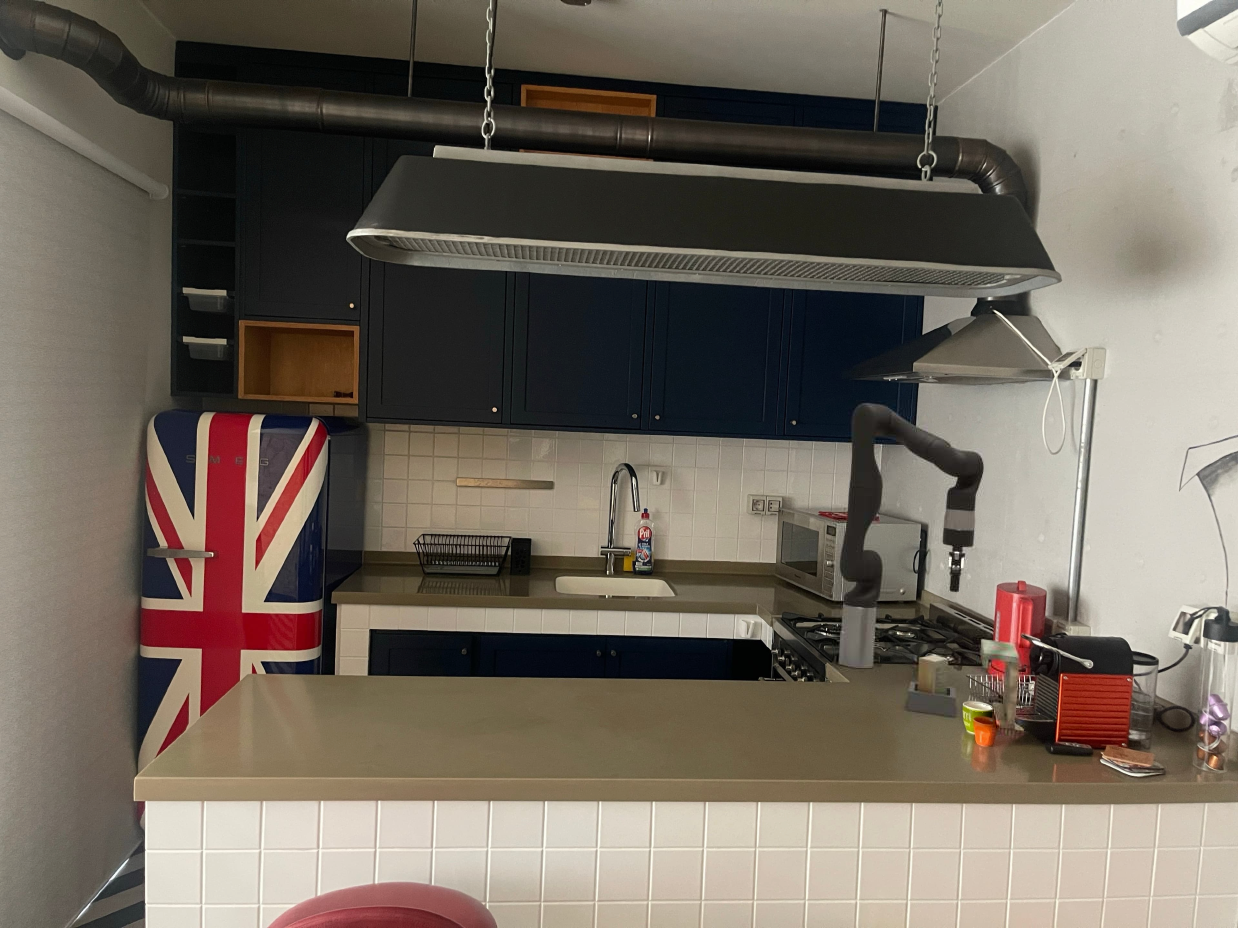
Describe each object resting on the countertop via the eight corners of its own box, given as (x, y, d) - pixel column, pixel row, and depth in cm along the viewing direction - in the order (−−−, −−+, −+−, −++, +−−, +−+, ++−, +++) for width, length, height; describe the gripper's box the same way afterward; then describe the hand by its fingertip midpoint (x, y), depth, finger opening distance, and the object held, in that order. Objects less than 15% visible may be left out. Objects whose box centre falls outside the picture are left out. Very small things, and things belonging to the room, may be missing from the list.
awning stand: (979, 724, 196) (984, 652, 196) (977, 704, 213) (981, 639, 213) (1025, 731, 192) (1030, 658, 192) (1019, 710, 209) (1023, 644, 209)
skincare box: (930, 704, 210) (933, 654, 210) (946, 709, 207) (949, 658, 207) (915, 707, 206) (918, 656, 206) (931, 712, 203) (934, 660, 203)
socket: (907, 709, 204) (908, 690, 204) (909, 699, 214) (910, 681, 214) (954, 717, 200) (955, 697, 200) (954, 706, 210) (955, 687, 210)
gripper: (944, 524, 232) (939, 584, 232) (942, 527, 219) (938, 591, 219) (974, 527, 229) (969, 587, 230) (974, 530, 216) (969, 594, 216)
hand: (954, 589), depth 224 cm, fingers open, 8 cm apart
